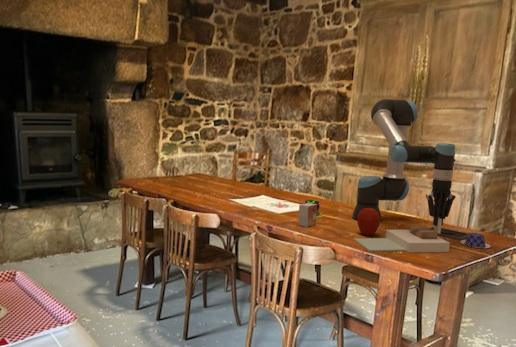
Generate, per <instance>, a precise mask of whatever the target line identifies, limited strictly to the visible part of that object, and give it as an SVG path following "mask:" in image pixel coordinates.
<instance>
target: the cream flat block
mask: <svg viewBox="0 0 516 347" xmlns="http://www.w3.org/2000/svg"><path fill="white" fill-rule="evenodd" d="M409 231H410V229H385V238H388V239H390V240H391V241H393V242H395V243H396V244H398V245H400V246H401V247H403V248H404V249H406V251H405V252H407V253H449V252H450V246H451V242H449V241H448V240H445V239H443V238H442V237H440V236H437V239H420V238H419V237H417V236H415V235H413V234H411V233H409Z"/></svg>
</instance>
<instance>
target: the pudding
mask: <svg viewBox="0 0 516 347" xmlns="http://www.w3.org/2000/svg"><path fill="white" fill-rule="evenodd" d="M468 233H469V234H468V237H467V239H465V240H461V241H460V242H459V243H460V244H462V245H464V246H467V245H468V247H471V246H472V247H471V248H476V249H489V248H491V247H492V246H491V245H490V244H489V243H486V241H485V239H486V238H485V236H484V234H482V233H478V232H468ZM464 242H465V243H466V245H465V244H464Z"/></svg>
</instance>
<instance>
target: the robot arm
mask: <svg viewBox="0 0 516 347" xmlns="http://www.w3.org/2000/svg"><path fill="white" fill-rule="evenodd" d="M370 117H371V118H370V119H371V120H372V123H373V124H375V126H378V128H379V129H380V131H381V133H382V135H383V136H384V138H385V139H386V142H388V143H387V144H388V152H387V153H388V154H387V161H386V162H387V163H386V171H385V173H384V174H383V176H382V177H381V176H379V175H366V176H362V177H359V179H358V181H357V192H356V205H355V207H354V209H353V212H352V216H351V217H352V219H353V220H355V221H358V214H359V212H360V211H361V210H362V209H364V208H369V206H370V208H373V209H375V210H376V211H377V212H378V214H379V217H380V222H382V221H381V220H382V215H381V210H380V206H379V204H380V201H394V202H398V201H403V200H405V199H406V197H407V196H408V194H409V191H410V185H409V181H408V180H407V179H406V175H404V170H405V169H404V168H405V163H412V164H413V163H415V164H416V163H418V164H419V163H420V164H422V163H423V164H433V171H432V172H433V173H432V178H433V179H432V185H431V187H432V189H431V192H430V193H428V194H425V198H426V200H427V206H428V214H429V216H430V217H432V219H433V222H432V225H433V227H434V231H436V232H438V234H440V233H441V228H442V226H443V224H444V220H445V219H446V218H448V217H449V216H450V215H449V214H450V211H451V209H452V205H453V203H454V201H455V199H456V195H453V194H452V191H451V189H452V184H453V181H452V180H453V173H454V165H455V164H454V163H455V155H456V145H455V144H454V143H447V142H442V143H441V142H437V143H436V145H435V146H434V145H433V146H432V145H411V144H410V143H409V142H408V130H409V129H410V128H411V127H412V124H413V123H415V122H416V121H417V118H418V107H417V105H416V103H415V102H414V101H412V100H407V99H393V98H392V99H388V98H385V99H384V98H383V99H381V100H378V101H377V102H376V103H375V104H373V106H372V108H371V111H370Z"/></svg>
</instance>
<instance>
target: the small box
mask: <svg viewBox="0 0 516 347" xmlns="http://www.w3.org/2000/svg"><path fill="white" fill-rule="evenodd" d="M298 207H299V208H298V213H299V215H298V221H297V222H298V223H297V225H298V226H301V227H306V228H308V227H312V226H316V224H317V218H316V215H317V212H318V211H317V204H312V203H306V204H304V203H302V204H299V206H298Z"/></svg>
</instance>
